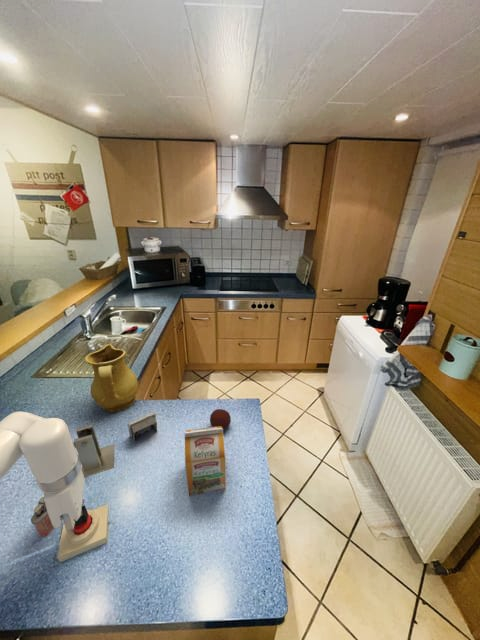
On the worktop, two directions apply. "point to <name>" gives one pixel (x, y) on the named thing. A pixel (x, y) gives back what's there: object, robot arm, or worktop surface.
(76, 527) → the button
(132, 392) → the pitcher
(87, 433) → the lever
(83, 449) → the bracket
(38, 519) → the lighter
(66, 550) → the control box
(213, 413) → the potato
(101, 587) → the worktop surface
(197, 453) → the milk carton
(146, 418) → the electrical switch
